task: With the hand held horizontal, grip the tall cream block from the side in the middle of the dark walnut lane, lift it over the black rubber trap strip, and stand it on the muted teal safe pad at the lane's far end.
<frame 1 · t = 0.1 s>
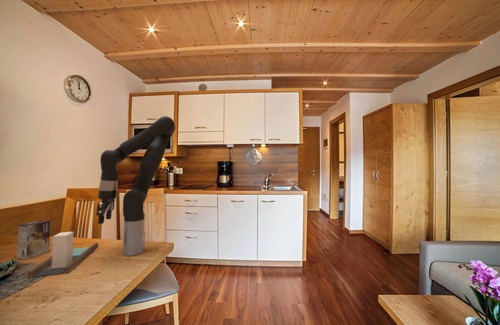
hand: (104, 221, 97), 17 cm above the table, tool pointing down, fingers open, 8 cm apart
safe pad: (78, 252, 99), on the table
cream block: (62, 264, 87), on the table
trap pits: (70, 258, 92), on the table
coffee box: (33, 255, 96), on the table
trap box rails: (70, 258, 92), on the table
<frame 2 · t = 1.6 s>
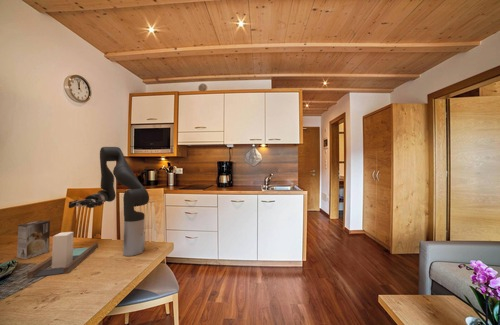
hand: (80, 205, 100), 24 cm above the table, tool horizontal, fingers open, 8 cm apart
nothing on the table moved.
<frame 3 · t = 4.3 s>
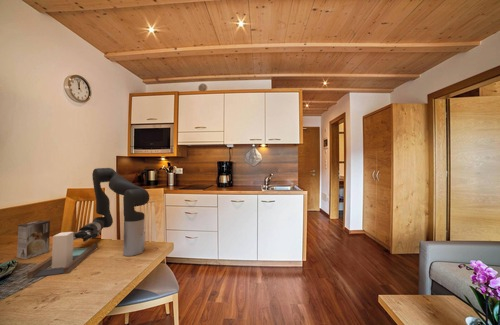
hand: (73, 240, 95), 8 cm above the table, tool horizontal, fingers open, 8 cm apart
nothing on the table moved.
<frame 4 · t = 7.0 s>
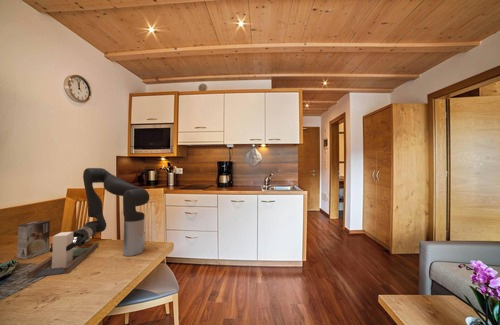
hand: (59, 249, 84), 8 cm above the table, tool horizontal, fingers closed on cream block, 5 cm apart
cream block: (62, 264, 87), on the table, touching gripper
everything else where it was.
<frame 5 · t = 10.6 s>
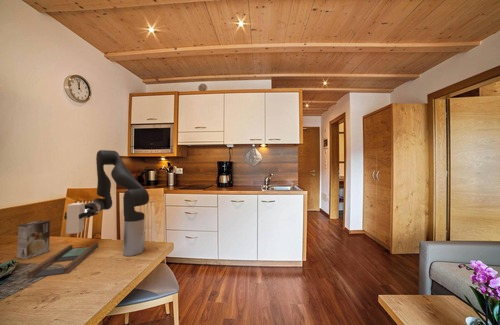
hand: (72, 217, 94), 20 cm above the table, tool horizontal, fingers closed on cream block, 5 cm apart
cream block: (75, 231, 96), point 12 cm above the table, touching gripper
everything else where it was.
when the fingers open (9 cm above the table, at t = 14.4 s): cream block stays where it is, resting on safe pad.
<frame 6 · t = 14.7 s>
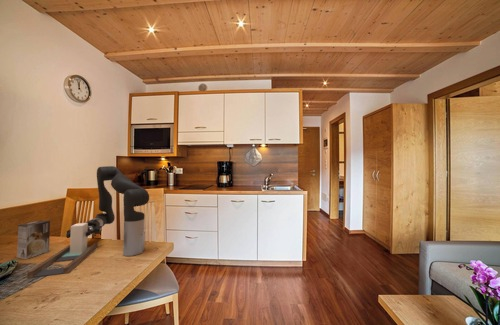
hand: (77, 235, 98), 10 cm above the table, tool horizontal, fingers open, 7 cm apart
cream block: (78, 251, 99), resting on safe pad
everything else where it was.
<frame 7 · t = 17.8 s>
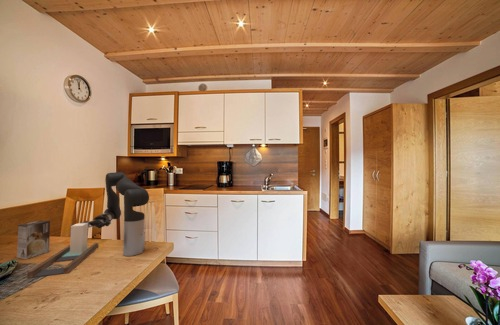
hand: (90, 227, 110), 10 cm above the table, tool horizontal, fingers open, 8 cm apart
nothing on the table moved.
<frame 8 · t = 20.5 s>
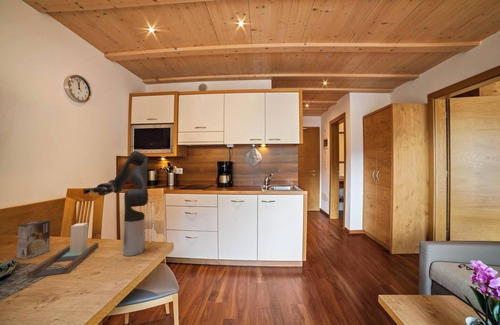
hand: (93, 191, 111), 30 cm above the table, tool horizontal, fingers open, 8 cm apart
nothing on the table moved.
at the end: cream block inside the target area (0.1 cm from its centre), resting on safe pad; cream block tilted 0°; the gripper is holding nothing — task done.
